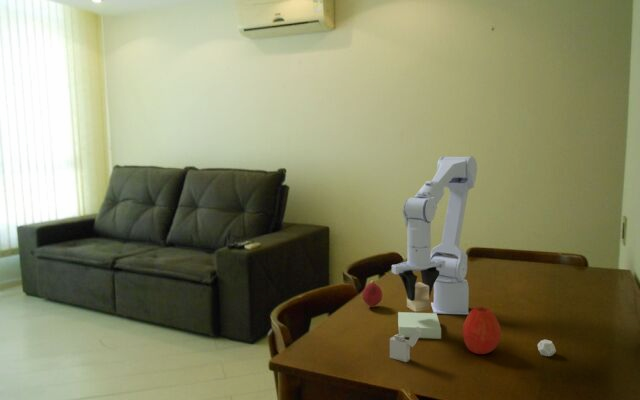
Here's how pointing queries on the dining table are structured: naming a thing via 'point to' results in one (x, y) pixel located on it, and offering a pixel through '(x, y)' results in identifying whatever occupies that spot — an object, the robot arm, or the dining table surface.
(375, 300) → the onion
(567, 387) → the dining table surface
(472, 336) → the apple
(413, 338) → the lighter
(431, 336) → the stacking block
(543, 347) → the game die
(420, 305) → the beech block
